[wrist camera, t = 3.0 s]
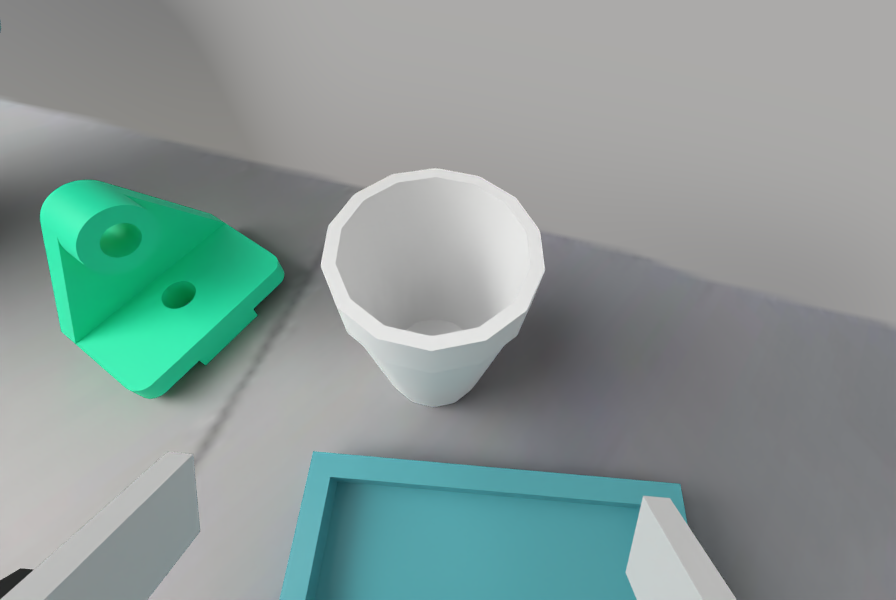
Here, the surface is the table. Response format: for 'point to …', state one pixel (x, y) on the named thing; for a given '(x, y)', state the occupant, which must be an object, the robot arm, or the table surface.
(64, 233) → the camera mount
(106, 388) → the table surface
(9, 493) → the table surface
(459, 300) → the foam cup
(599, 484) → the teal tray
